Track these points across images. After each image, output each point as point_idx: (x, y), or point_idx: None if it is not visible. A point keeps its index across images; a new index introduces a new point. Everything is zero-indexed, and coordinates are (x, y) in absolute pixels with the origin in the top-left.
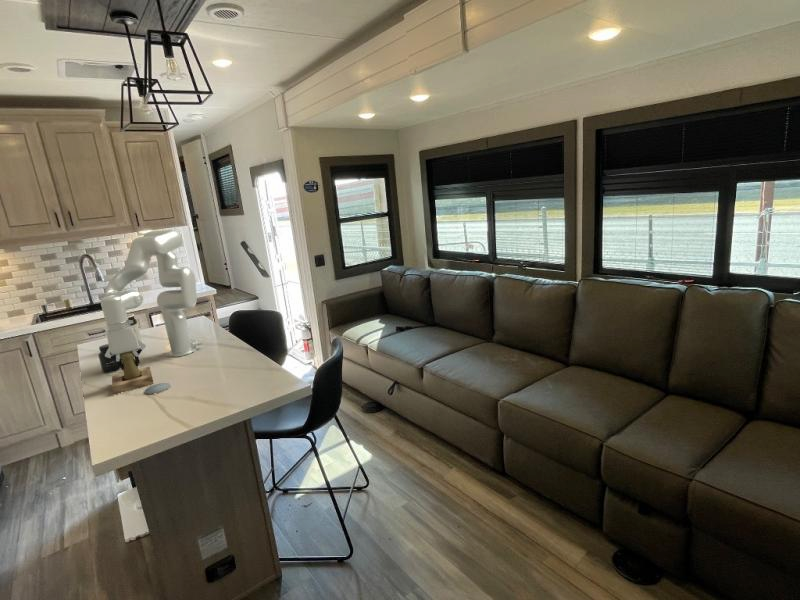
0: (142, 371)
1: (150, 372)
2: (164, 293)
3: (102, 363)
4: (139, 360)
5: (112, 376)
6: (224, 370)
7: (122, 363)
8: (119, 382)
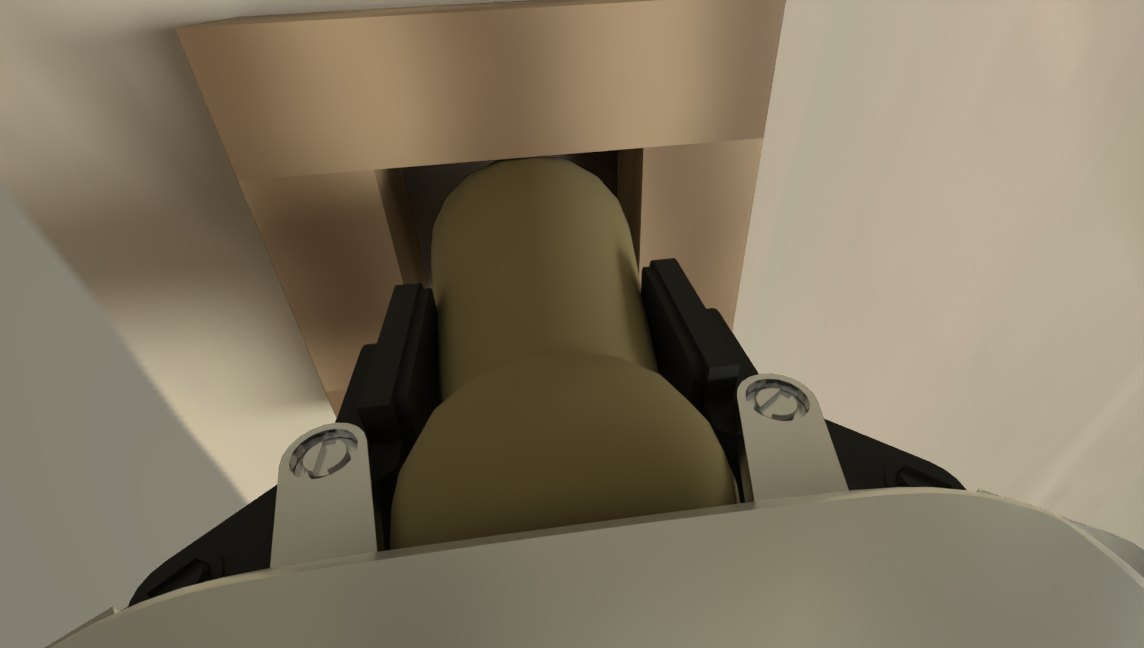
0: (657, 184)
1: (732, 296)
2: None
3: None
4: (721, 322)
5: (198, 68)
6: (1134, 402)
7: (426, 357)
8: None
